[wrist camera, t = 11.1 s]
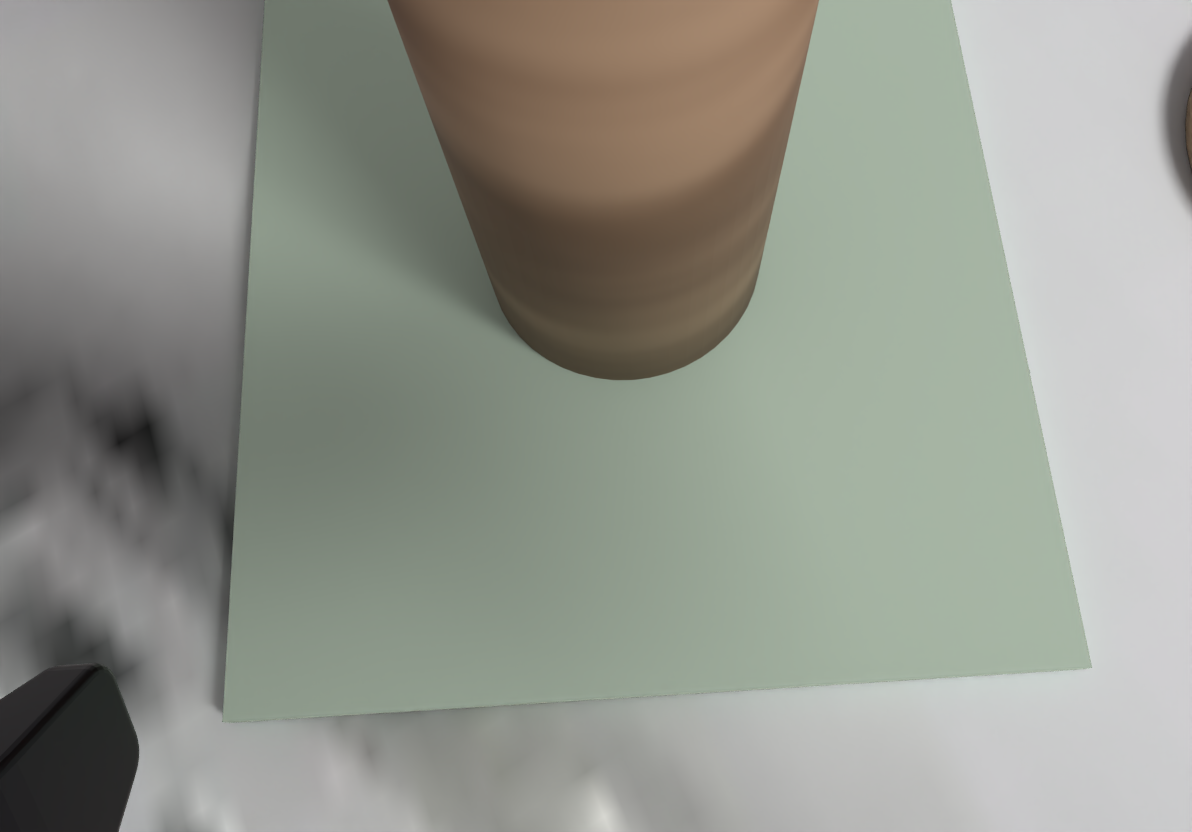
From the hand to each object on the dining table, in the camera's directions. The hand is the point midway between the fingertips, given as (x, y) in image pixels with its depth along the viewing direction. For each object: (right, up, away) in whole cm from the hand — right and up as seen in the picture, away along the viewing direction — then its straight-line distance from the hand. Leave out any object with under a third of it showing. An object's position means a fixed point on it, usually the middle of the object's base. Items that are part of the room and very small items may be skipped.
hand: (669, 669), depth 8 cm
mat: (0, +5, +11) cm, 12 cm away
